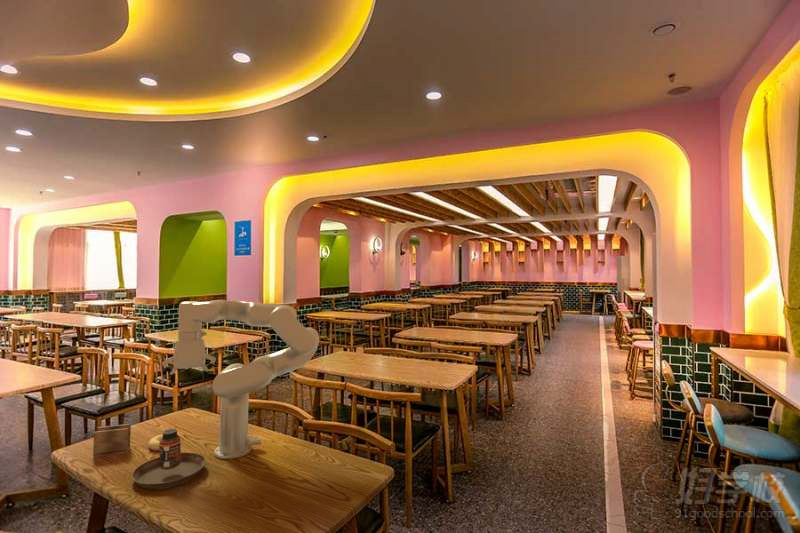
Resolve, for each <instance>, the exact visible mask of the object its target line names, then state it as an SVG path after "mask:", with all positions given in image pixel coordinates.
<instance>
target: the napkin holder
mask: <svg viewBox="0 0 800 533" xmlns="http://www.w3.org/2000/svg"><path fill="white" fill-rule="evenodd" d="M131 428H132V426H131V423H127V424H126V423H124V424H116V425H107V426H98V427H97V430H96V431H94V432H93V451H92V452H93V454H92V455H93V458H98V457H105V456H106V457H107V456H114V455H115V456H116V455H121V454H123V455H124V454H128V453H129V451H130V448H131V435H132V434H131V430H132V429H131Z"/></svg>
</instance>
